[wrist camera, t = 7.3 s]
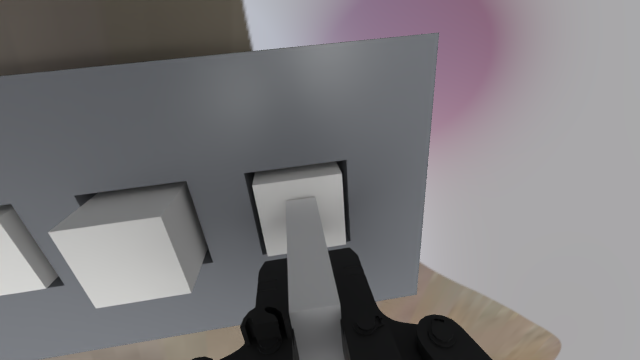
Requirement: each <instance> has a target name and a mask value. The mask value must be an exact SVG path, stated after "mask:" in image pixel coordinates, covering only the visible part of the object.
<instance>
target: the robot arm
mask: <svg viewBox="0 0 640 360" xmlns="http://www.w3.org/2000/svg"><path fill="white" fill-rule="evenodd" d="M286 232H287V258H283V259H277V260H270V261H265V262H264V264H263V265H262V267H261V269H260V270H259V275H258V285H257V295H256V305H255V308H254V309H252V310H251V311H249V312H248V313H247V315H246V316H245V317H244V318H243V321H242V323H241V326H240V328H241V331H242V335H243V338H244V341H245V344H244V345H243V346H242V347H241V348H240V349H239V350H237V351H236V352H234V353H232V354H230V355H228V356H226V357H224V358H222V359H220V360H492V359H491V358H490V357H489V356H488V355H487V354H486V353H485V352H484V350H483V349H482V348H481V347H480V346H479V345H478V344H477V343H476V342H475V341H474V340H473V339H472V338H471V337H470V336H469V335H468V334H467V333H466V332H465V331H464V329H463V328H462V327H461V326H460V325H458V324H457V323H456V322H455V321H453V320H452V319H450V318H447V317H445V316H442V315H434V314H433V315H429V316H425V317H424V318H423V319H421V320H420V321H419V323H418V324H410V323H403V322H398V321H394V320H392V319H390V318H388V317H387V316H385V315H384V314H383V313H382V312H381V311H380V310H379V308H378V307H377V305H376V302H375V300H374V297H373V294H372V292H371V289H370V286H369V284H368V281H367V278H366V276H365V274H364V270H363V268H362V266H361V262H360V260H359V257H358V255H357V254H356V253H355V252H354V251H353V250H352V249H351V248H350V247H349V248H342V249H336V250H329V251H328V249H327V245H326V241H325V236H324V232H323V228H322V224H321V219H320V215H319V211H318V206H317V202H316V198H315V197H312V198H305V199H298V200H291V201H286ZM192 360H213V359H211V358H208V357H199V358H194V359H192Z"/></svg>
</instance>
